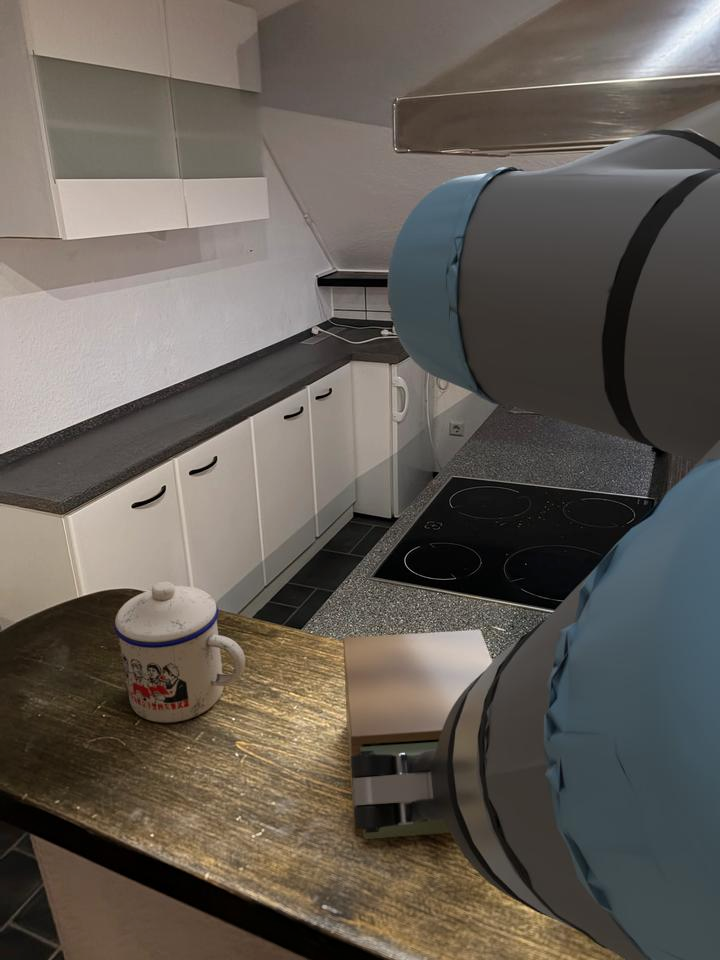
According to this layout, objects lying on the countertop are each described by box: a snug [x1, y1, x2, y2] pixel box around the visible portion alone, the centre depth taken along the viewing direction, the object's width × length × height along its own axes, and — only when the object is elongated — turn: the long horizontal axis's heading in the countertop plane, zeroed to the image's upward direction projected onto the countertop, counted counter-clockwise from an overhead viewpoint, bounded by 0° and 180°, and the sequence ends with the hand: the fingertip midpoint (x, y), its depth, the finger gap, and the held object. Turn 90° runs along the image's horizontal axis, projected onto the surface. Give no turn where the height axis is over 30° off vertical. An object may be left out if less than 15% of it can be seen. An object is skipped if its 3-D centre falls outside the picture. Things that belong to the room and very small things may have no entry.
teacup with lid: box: [113, 580, 246, 724], centre depth 69 cm, size 12×9×12 cm
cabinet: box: [342, 629, 493, 837], centre depth 60 cm, size 12×12×9 cm
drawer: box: [360, 739, 450, 840], centre depth 58 cm, size 12×10×7 cm
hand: (461, 786), depth 42 cm, fingers closed
